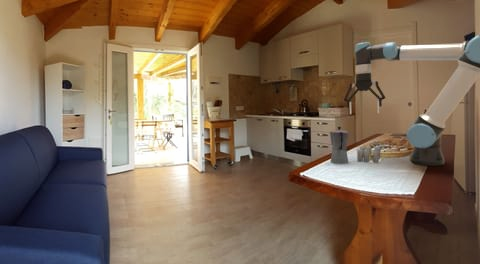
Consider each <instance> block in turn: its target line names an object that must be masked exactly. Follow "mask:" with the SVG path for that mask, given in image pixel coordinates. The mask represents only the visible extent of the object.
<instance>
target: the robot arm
mask: <svg viewBox="0 0 480 264" xmlns="http://www.w3.org/2000/svg"><path fill="white" fill-rule="evenodd" d="M354 47H355V50H354V51H355V52H354V56H355V57H354V58H355V83H350V84H349V87H348V90H347V92H346V94H345V97H344V98H343V101H344V102H346V106H347V109H349V115H352V101H351V100H352V99H353V98H354V97H355V96H356V95H357V94H358V92H368V91H370V93H371V94H372V95H374V97H376V99H377V101H376V102H377V105H376V106H377V109H376V110H377V114H380V108H381V107H382V105H383V104H382V101H383V100H385V99H386V96H385V94H384V93H383V90H382V89H381V87H380V85H379V82H378V80H377V81H373V82H372V73H371V72H372V61H380V60H386V61H387V62H388V61H389V62H394V61H457V63H458V66H457V68H456V69H455V71H454V72H453V74H452V75H451V76H450V78H449V79H448V81H447V82H446V84H445V85H444V87H442V89H441V90H440V92H439V93H438V95H437V96H436V97H435V99H434V100H433V102H432V103H431V104H430V107H429V108H428V109H427V110H426V111H425V113H422V114H419V116H418V117H416V118H415V119H414V122H413V124H412V125H411V126H409V128H408V129H407V132H406V139H407V141H408V142H409V144H410V145H411V146H413V148H412V151H411V153H410V155H409V161H410V162H411V163H413V165H414V164H415V165H420V166H429V167H430V166H431V167H432V166H433V167H437V166H443V165H445V157H444V154H443V152H442V133H443V131H444V130H446V129H445V128H446V121H447V120H448V119H449V117H450V116H451V114H452V113H453V112H454V111H455V109H456V108H457V106H458V105H459V104H460V103H461V101H462V99H463V98H464V97H465V95H466V94H467V93H468V92H469V91H470V89H471V88H472V87H473V85H474V84H475V82H476V81H477V80H478V78H479V77H480V34H478V35H476V36H474V37H473V38H471V39H470V40H465V41H463V42H461V43H437V44H435V43H434V44H410V45H409V44H407V45H405V44H404V45H397V43H396V42H395V41H392V42H390V41H389V42H385V43H379V44H375V45H372V44H371V42H369V41H365V42H364V41H363V42H359V43H356V45H355V46H354ZM372 86H374V87H375V88H376V90H377V91H378V92H379V95H380V96H381V97H380V96H379V95H378V94H377V93H376V91H375V90H374V89H372V88H371V87H372ZM354 87H355V88H356V89H355V91H354V92H353V93H352V94H351V96H350V93H351V91H352V90H353V89H354ZM349 96H350V97H349ZM348 97H349V98H348Z"/></svg>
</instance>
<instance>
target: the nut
mask: <svg viewBox="0 0 480 264" xmlns="http://www.w3.org/2000/svg"><path fill="white" fill-rule="evenodd" d="M363 159H364V153H363ZM369 161H373V152H371V153H369Z"/></svg>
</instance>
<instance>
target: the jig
mask: <svg viewBox="0 0 480 264" xmlns="http://www.w3.org/2000/svg"><path fill="white" fill-rule="evenodd" d="M356 153H357V154H356V155H357V157H356V158H357V159H356V162H359V163H371V164H373V163H374V164H380V163H381V161H382V157H381V147H380V146H375V147H374V150H373V151H372V146H363V145H361V146H359V149H357V152H356ZM363 153H364V159H363ZM369 153H372V154H373V161H369Z"/></svg>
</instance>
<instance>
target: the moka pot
mask: <svg viewBox="0 0 480 264" xmlns="http://www.w3.org/2000/svg"><path fill="white" fill-rule="evenodd" d="M329 134H330V135H329V136H330V143H331V147H332V150H331V157H330V162H331V164H335V165H337V164H338V165H345V164H348V163H349V159H348V151H347V146H348V142H349V141H348V139H349V131H347V130H343V129H342V127H341V126H338V127H337V129H335V130H332V131H329Z"/></svg>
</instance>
